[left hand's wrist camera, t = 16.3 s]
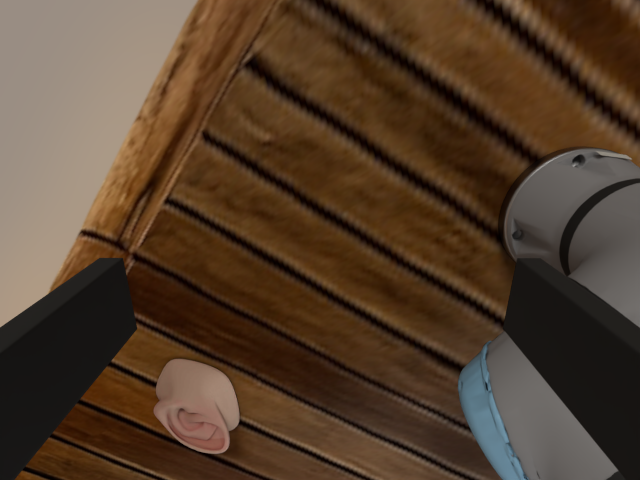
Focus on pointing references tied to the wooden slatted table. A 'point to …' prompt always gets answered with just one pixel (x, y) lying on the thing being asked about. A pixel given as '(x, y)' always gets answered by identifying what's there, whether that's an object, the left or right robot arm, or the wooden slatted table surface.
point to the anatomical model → (197, 405)
